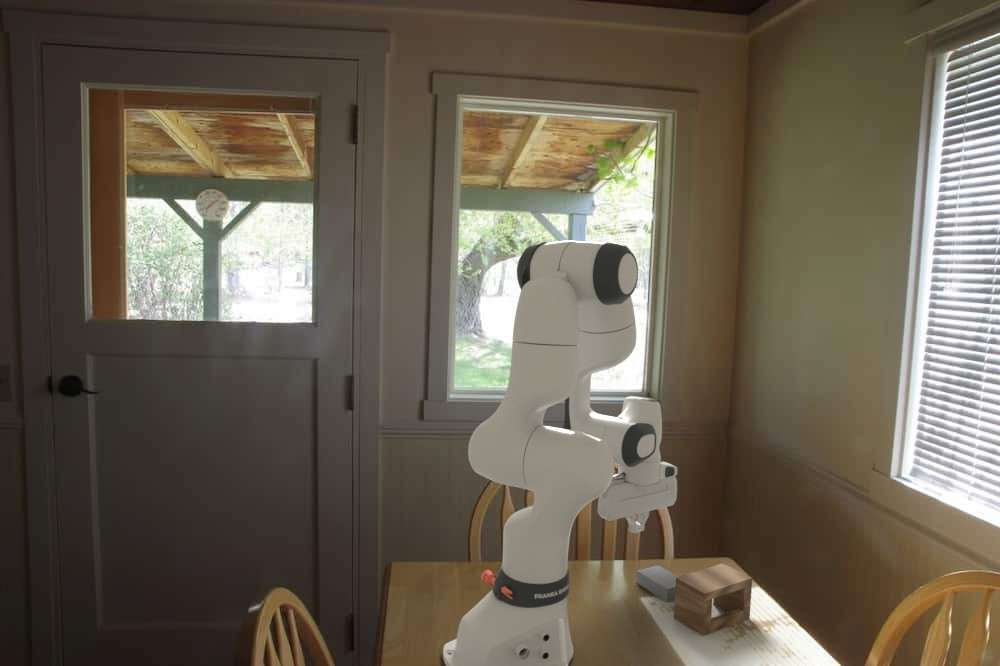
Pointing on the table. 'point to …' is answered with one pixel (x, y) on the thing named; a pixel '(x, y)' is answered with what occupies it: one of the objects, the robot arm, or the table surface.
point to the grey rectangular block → (658, 582)
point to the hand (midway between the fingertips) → (636, 531)
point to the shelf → (712, 584)
